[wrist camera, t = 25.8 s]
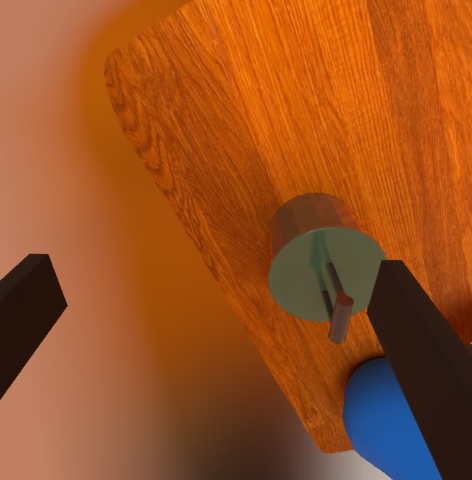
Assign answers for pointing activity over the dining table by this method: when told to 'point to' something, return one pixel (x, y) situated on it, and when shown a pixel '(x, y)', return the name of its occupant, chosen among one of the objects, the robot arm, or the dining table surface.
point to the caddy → (308, 217)
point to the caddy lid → (326, 275)
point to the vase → (385, 424)
